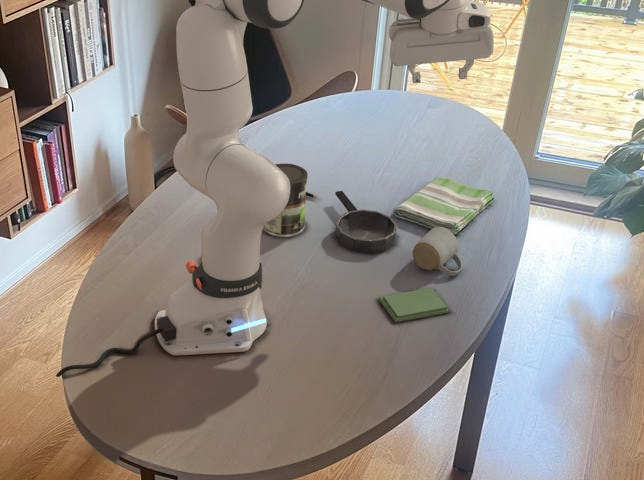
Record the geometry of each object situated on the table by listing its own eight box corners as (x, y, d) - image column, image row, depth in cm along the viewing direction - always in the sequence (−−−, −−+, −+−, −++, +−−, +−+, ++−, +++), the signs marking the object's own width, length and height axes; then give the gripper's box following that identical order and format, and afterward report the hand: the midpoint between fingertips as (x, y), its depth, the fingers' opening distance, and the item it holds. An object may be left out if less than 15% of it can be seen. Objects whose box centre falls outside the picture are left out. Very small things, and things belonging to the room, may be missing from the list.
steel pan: (349, 257, 186) (350, 244, 184) (312, 205, 204) (312, 193, 202) (404, 248, 189) (406, 235, 187) (363, 198, 207) (364, 186, 205)
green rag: (395, 322, 166) (395, 317, 166) (379, 300, 173) (379, 295, 172) (448, 312, 169) (449, 307, 169) (430, 291, 175) (431, 286, 175)
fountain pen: (320, 199, 207) (320, 193, 206) (317, 201, 206) (318, 195, 205) (271, 183, 213) (271, 178, 212) (269, 185, 212) (269, 180, 211)
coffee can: (307, 217, 199) (310, 165, 191) (301, 239, 191) (303, 186, 183) (266, 213, 201) (267, 160, 192) (257, 234, 193) (258, 181, 184)
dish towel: (390, 216, 200) (391, 203, 198) (433, 181, 215) (435, 168, 213) (454, 239, 192) (456, 226, 190) (495, 201, 207) (497, 188, 205)
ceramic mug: (407, 265, 183) (412, 236, 178) (426, 250, 188) (431, 221, 183) (450, 283, 178) (456, 254, 173) (467, 267, 183) (474, 238, 178)
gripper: (391, 27, 158) (390, 91, 167) (499, 17, 156) (492, 83, 166) (387, 13, 163) (386, 76, 172) (492, 3, 161) (486, 68, 171)
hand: (439, 79), depth 169 cm, fingers open, 8 cm apart
